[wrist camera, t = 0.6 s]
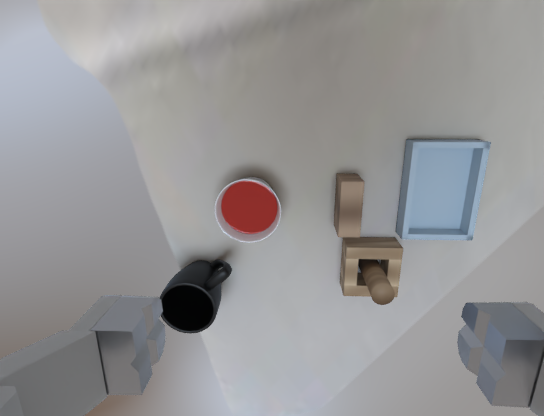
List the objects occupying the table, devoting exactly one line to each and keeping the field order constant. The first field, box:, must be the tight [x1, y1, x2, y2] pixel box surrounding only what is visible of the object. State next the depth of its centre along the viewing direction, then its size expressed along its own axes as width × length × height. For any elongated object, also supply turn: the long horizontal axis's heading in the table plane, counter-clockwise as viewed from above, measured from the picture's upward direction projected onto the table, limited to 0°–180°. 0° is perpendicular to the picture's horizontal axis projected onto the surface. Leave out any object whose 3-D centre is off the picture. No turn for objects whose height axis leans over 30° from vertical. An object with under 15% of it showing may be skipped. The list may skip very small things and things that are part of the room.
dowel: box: [358, 259, 395, 305], centre depth 50 cm, size 3×3×10 cm
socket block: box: [340, 237, 403, 297], centre depth 53 cm, size 8×8×4 cm
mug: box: [160, 260, 232, 333], centre depth 52 cm, size 8×12×10 cm
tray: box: [396, 139, 491, 240], centre depth 49 cm, size 14×10×3 cm
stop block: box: [334, 174, 364, 237], centre depth 49 cm, size 8×3×5 cm, turn 0°
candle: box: [215, 177, 281, 243], centre depth 50 cm, size 9×9×6 cm
